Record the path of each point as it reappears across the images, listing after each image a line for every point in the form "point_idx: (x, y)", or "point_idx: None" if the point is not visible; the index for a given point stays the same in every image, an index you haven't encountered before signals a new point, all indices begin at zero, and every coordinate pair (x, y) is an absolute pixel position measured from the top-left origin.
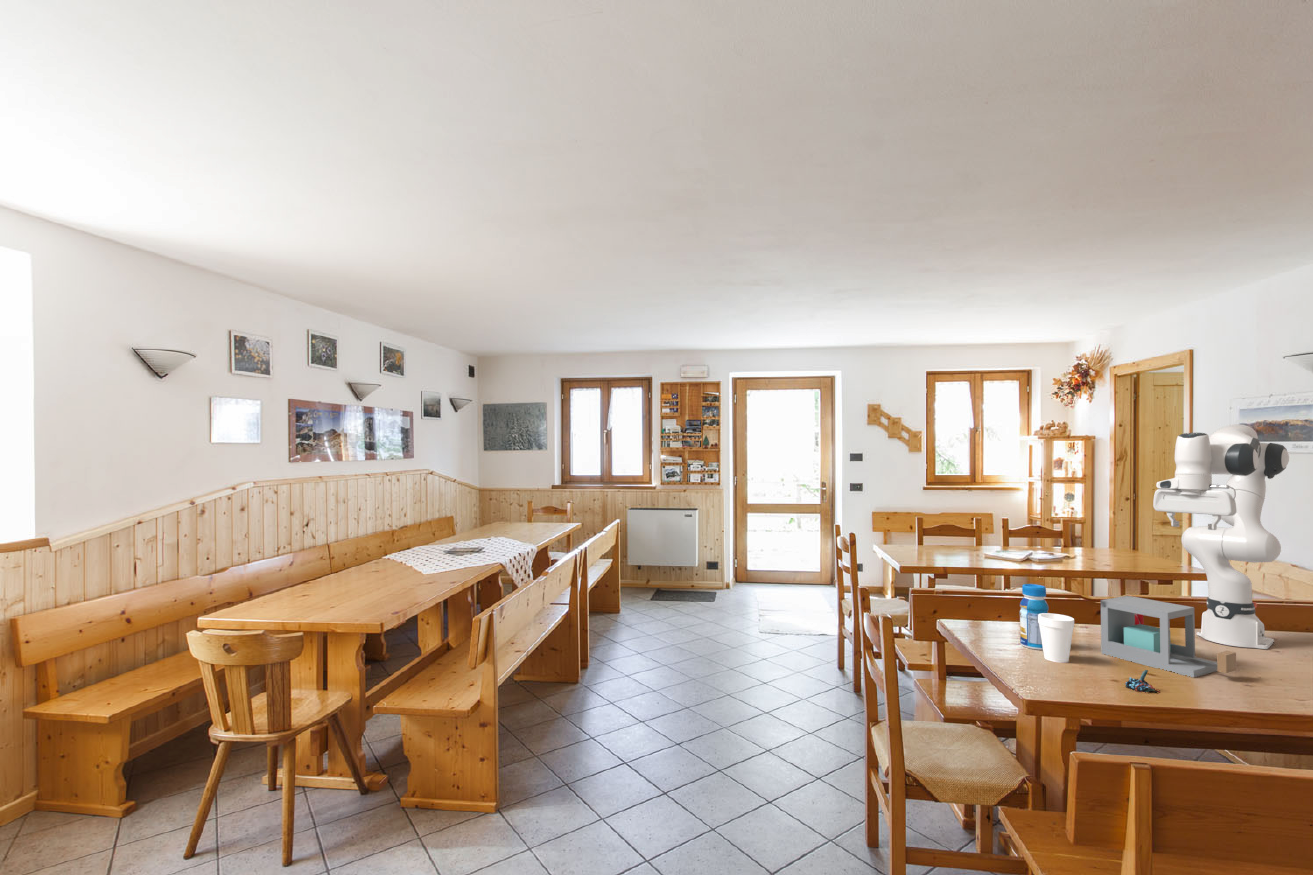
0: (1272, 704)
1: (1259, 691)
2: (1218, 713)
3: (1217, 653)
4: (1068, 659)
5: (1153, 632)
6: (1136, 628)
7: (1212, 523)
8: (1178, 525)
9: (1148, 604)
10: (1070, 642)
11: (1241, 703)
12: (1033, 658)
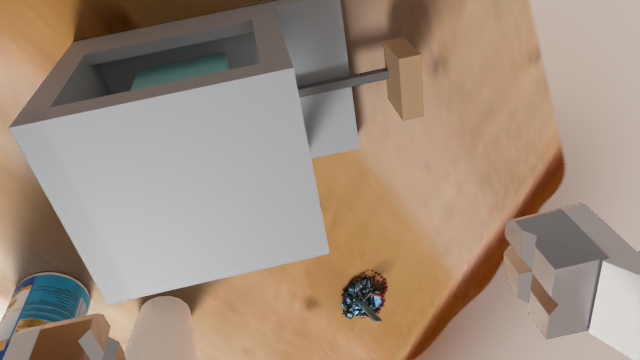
0: (514, 146)
1: (470, 85)
2: (482, 275)
3: (404, 120)
4: (188, 309)
5: None
6: None
7: (610, 334)
8: (103, 340)
9: (204, 203)
10: (192, 341)
11: (482, 197)
12: None
